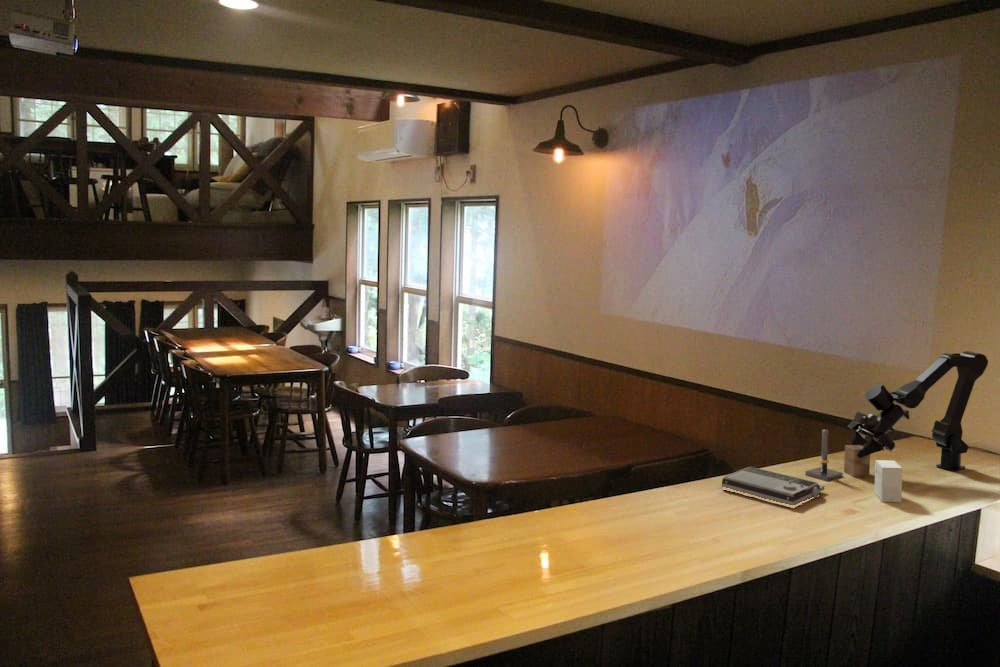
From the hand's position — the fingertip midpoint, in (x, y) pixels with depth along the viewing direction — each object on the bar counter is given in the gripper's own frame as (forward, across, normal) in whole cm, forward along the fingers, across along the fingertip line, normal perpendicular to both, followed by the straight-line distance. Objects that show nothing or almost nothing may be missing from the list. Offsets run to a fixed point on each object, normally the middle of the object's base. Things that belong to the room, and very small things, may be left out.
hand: (853, 454), depth 256 cm
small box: (+6, +23, +3) cm, 24 cm away
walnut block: (+4, 0, +6) cm, 7 cm away
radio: (+28, +12, -18) cm, 35 cm away
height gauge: (+12, 0, -2) cm, 12 cm away
